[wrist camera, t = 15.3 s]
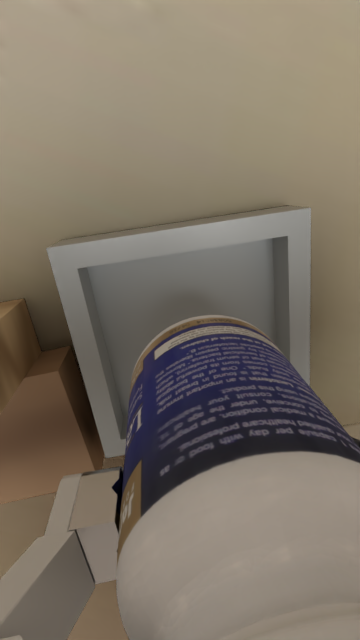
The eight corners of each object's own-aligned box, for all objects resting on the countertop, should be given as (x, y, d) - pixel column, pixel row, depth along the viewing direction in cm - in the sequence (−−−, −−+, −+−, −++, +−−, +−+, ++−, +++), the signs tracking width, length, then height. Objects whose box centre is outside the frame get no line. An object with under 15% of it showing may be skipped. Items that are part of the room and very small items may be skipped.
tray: (290, 395, 20) (309, 421, 18) (110, 426, 20) (105, 458, 17) (287, 205, 16) (310, 207, 14) (60, 240, 16) (46, 248, 13)
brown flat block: (105, 443, 21) (99, 482, 18) (-7, 467, 20) (-31, 510, 18) (71, 343, 18) (58, 370, 15) (-57, 370, 18) (-95, 402, 15)
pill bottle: (104, 345, 12) (-44, 902, 3) (255, 285, 12) (702, 661, 2) (164, 459, 14) (204, 993, 5) (293, 411, 14) (607, 872, 4)
